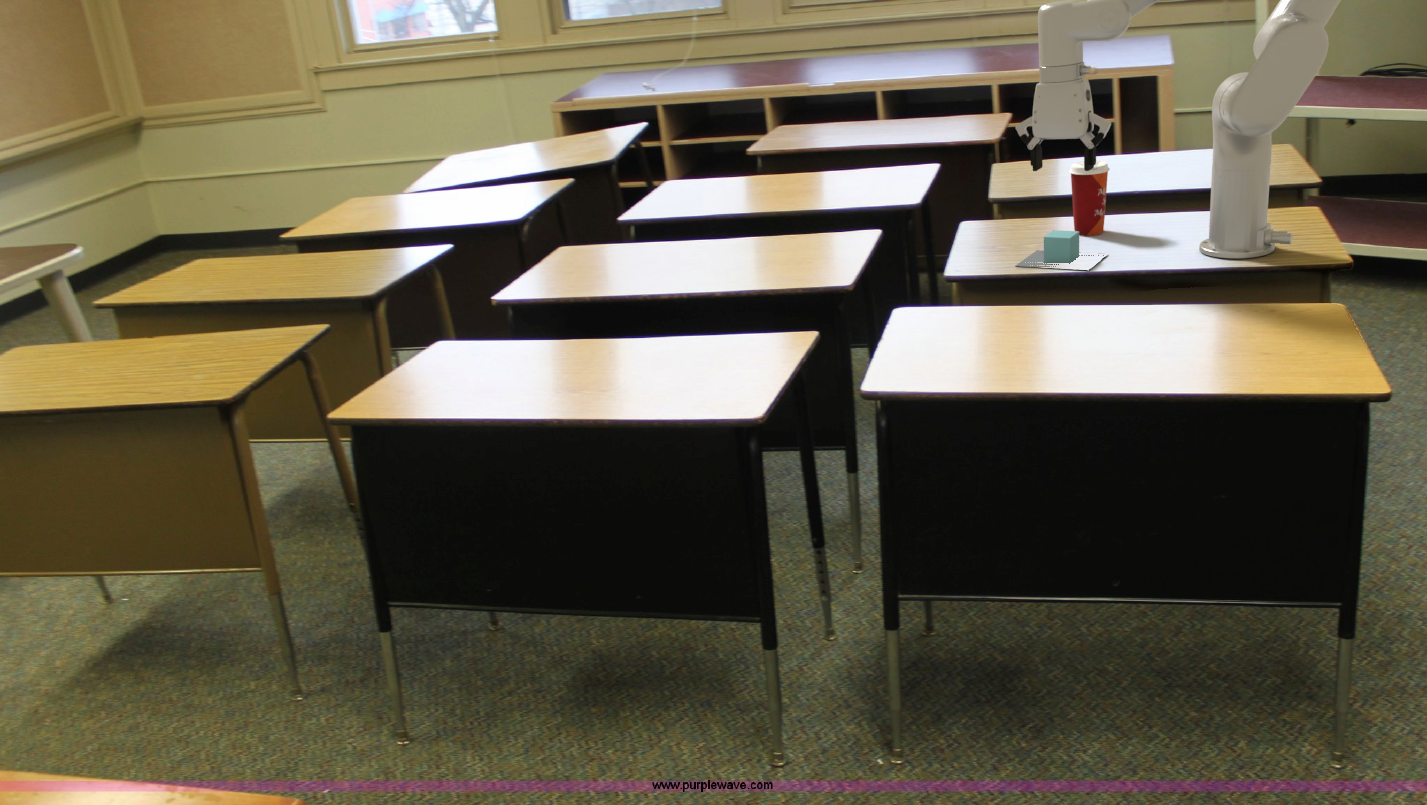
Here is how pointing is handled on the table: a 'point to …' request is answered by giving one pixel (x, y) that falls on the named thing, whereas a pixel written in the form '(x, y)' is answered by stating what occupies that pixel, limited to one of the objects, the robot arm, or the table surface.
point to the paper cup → (1089, 197)
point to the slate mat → (1036, 260)
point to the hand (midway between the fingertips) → (1063, 169)
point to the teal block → (1061, 246)
